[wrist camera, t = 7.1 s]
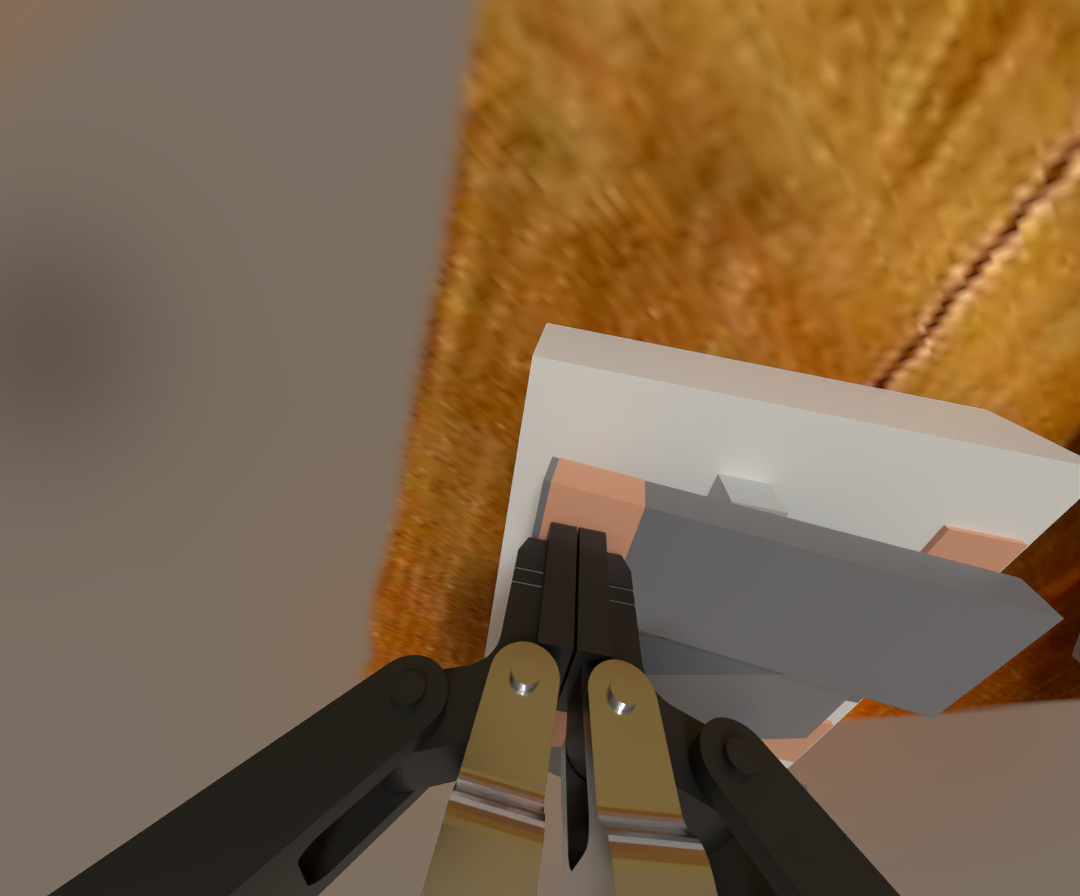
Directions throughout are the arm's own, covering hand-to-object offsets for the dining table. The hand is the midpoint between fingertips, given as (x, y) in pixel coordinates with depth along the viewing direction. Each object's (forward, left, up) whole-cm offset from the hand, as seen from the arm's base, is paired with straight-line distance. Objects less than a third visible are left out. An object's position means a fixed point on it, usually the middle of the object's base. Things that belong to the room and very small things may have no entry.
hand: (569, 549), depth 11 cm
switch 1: (-5, 0, 0) cm, 5 cm away
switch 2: (-5, +6, 0) cm, 8 cm away
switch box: (-6, +6, -7) cm, 10 cm away
